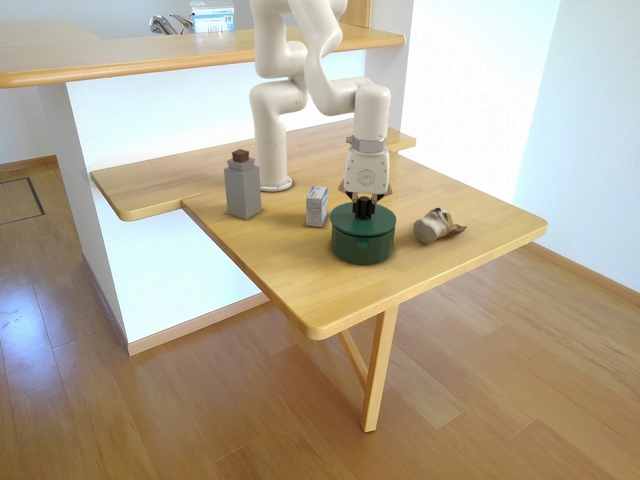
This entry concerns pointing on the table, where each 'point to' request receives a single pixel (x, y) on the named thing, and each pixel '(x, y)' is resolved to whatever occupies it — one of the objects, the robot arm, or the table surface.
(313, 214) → the medicine box
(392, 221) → the lid
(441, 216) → the ceramic sculpture
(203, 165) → the table surface
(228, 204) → the perfume bottle
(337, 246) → the pot
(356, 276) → the table surface
